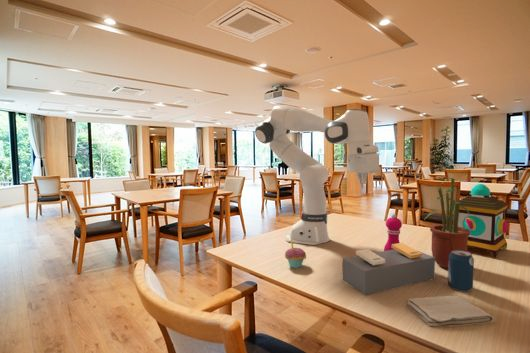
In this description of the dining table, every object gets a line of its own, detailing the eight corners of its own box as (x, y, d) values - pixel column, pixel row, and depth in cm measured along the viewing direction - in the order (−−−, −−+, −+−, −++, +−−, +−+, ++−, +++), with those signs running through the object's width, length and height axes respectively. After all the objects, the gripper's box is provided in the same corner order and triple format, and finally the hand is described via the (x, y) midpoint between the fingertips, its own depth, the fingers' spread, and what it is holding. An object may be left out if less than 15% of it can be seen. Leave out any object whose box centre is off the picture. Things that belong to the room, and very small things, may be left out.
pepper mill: (401, 259, 123) (402, 212, 121) (403, 265, 116) (404, 216, 114) (383, 257, 125) (383, 211, 123) (384, 263, 118) (384, 215, 116)
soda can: (478, 290, 95) (479, 254, 94) (461, 293, 93) (463, 257, 92) (458, 281, 101) (459, 247, 100) (442, 284, 99) (443, 250, 98)
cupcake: (292, 271, 113) (291, 241, 112) (281, 264, 120) (280, 235, 119) (310, 267, 117) (310, 237, 116) (298, 260, 124) (297, 232, 123)
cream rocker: (355, 253, 104) (355, 250, 104) (367, 251, 106) (367, 248, 105) (373, 265, 96) (373, 261, 95) (385, 263, 97) (385, 259, 97)
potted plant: (473, 275, 106) (477, 179, 103) (425, 269, 112) (427, 178, 108) (460, 258, 123) (463, 175, 119) (418, 254, 128) (420, 174, 125)
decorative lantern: (511, 249, 131) (515, 183, 128) (499, 260, 119) (502, 187, 116) (460, 239, 147) (462, 180, 144) (444, 248, 134) (447, 183, 132)
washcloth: (404, 306, 87) (404, 296, 87) (459, 301, 89) (459, 291, 89) (431, 330, 76) (431, 319, 75) (494, 324, 78) (494, 313, 77)
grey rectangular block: (342, 279, 105) (342, 256, 104) (407, 266, 115) (407, 245, 114) (364, 295, 93) (364, 269, 93) (434, 279, 104) (435, 255, 103)
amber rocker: (391, 247, 109) (391, 244, 109) (401, 245, 111) (402, 242, 111) (410, 258, 101) (410, 255, 101) (421, 256, 103) (421, 253, 102)
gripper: (341, 151, 127) (344, 183, 127) (364, 148, 106) (368, 186, 107) (355, 149, 128) (358, 181, 128) (380, 147, 107) (384, 184, 108)
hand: (363, 183), depth 118 cm, fingers closed
